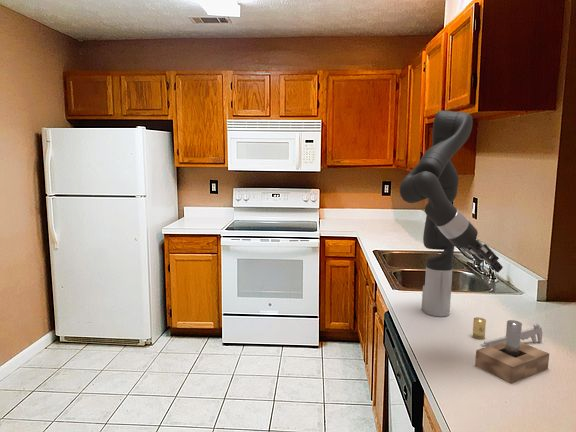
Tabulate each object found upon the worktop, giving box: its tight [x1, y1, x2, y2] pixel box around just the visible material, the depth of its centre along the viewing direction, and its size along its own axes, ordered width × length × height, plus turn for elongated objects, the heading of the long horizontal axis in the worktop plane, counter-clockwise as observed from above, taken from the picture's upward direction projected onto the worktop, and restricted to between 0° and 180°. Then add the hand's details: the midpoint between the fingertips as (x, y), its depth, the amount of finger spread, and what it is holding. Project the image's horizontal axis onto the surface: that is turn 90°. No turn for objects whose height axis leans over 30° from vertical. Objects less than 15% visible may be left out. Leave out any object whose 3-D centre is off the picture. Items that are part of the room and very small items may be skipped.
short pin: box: [472, 316, 487, 340], centre depth 140 cm, size 4×4×6 cm
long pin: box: [505, 319, 523, 358], centre depth 120 cm, size 4×4×13 cm
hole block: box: [474, 341, 550, 384], centre depth 121 cm, size 11×16×4 cm
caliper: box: [480, 323, 543, 348], centre depth 135 cm, size 20×1×6 cm, turn 99°
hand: (490, 265), depth 125 cm, fingers open, 8 cm apart
